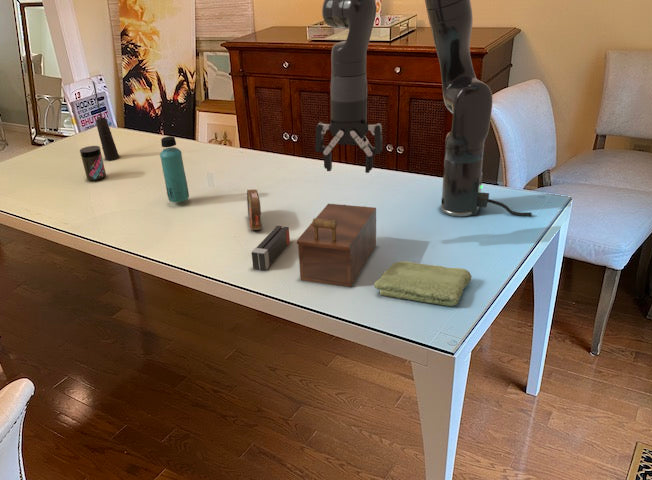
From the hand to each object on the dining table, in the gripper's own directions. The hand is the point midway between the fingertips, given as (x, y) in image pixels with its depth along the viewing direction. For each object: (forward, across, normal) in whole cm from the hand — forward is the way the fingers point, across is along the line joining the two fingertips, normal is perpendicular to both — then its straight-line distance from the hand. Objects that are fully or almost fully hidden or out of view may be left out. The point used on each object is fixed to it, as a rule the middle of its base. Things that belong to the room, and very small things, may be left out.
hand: (348, 170), depth 137 cm
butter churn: (+22, -101, +65) cm, 123 cm away
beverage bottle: (+22, -56, +26) cm, 65 cm away
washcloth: (+21, +18, -13) cm, 31 cm away
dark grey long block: (+21, -18, -3) cm, 28 cm away
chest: (+21, -1, -4) cm, 21 cm away
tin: (+21, -28, +15) cm, 38 cm away
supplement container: (+22, -95, +44) cm, 107 cm away
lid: (+11, -1, -5) cm, 12 cm away
